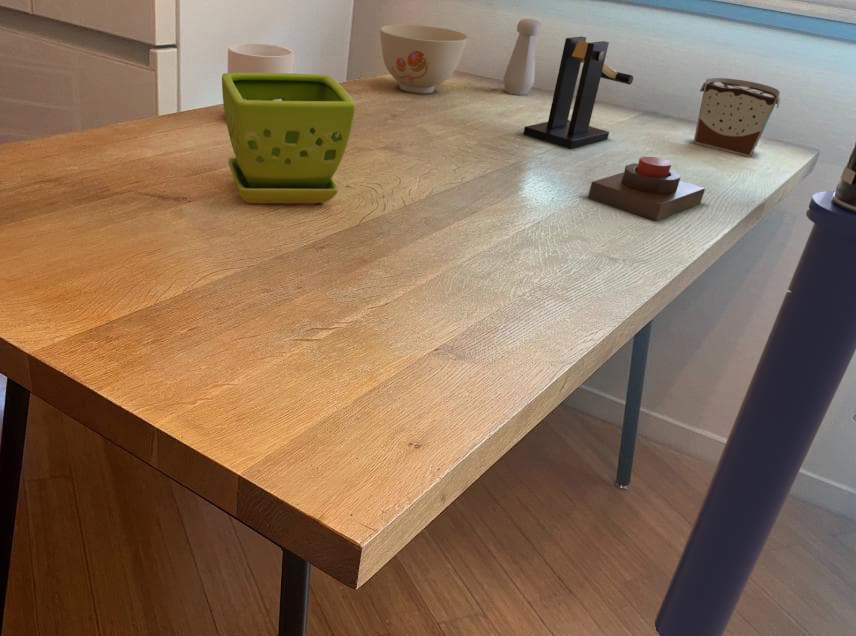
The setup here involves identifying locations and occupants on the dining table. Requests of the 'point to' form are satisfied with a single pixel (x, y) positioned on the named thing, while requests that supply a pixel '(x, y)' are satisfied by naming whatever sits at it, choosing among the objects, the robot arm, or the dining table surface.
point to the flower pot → (286, 135)
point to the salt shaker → (522, 59)
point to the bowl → (421, 55)
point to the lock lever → (607, 70)
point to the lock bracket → (578, 128)
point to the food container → (734, 114)
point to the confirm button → (654, 166)
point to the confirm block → (646, 193)
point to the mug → (260, 59)
